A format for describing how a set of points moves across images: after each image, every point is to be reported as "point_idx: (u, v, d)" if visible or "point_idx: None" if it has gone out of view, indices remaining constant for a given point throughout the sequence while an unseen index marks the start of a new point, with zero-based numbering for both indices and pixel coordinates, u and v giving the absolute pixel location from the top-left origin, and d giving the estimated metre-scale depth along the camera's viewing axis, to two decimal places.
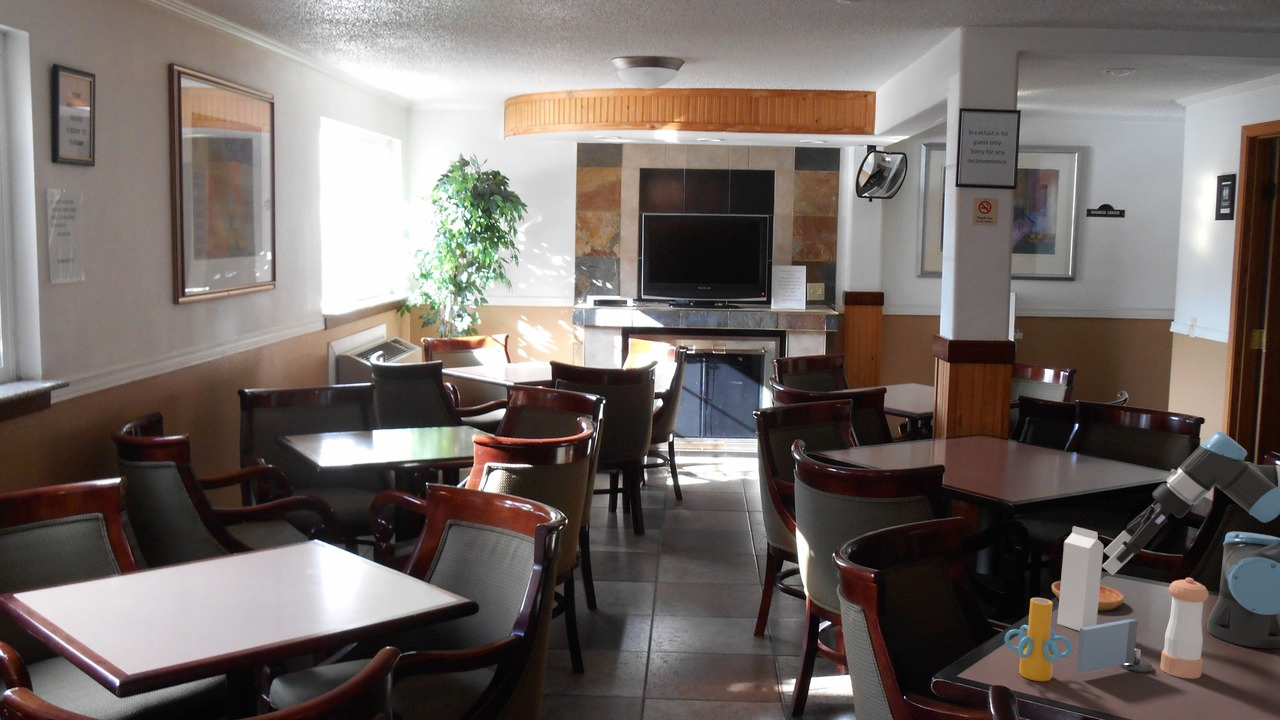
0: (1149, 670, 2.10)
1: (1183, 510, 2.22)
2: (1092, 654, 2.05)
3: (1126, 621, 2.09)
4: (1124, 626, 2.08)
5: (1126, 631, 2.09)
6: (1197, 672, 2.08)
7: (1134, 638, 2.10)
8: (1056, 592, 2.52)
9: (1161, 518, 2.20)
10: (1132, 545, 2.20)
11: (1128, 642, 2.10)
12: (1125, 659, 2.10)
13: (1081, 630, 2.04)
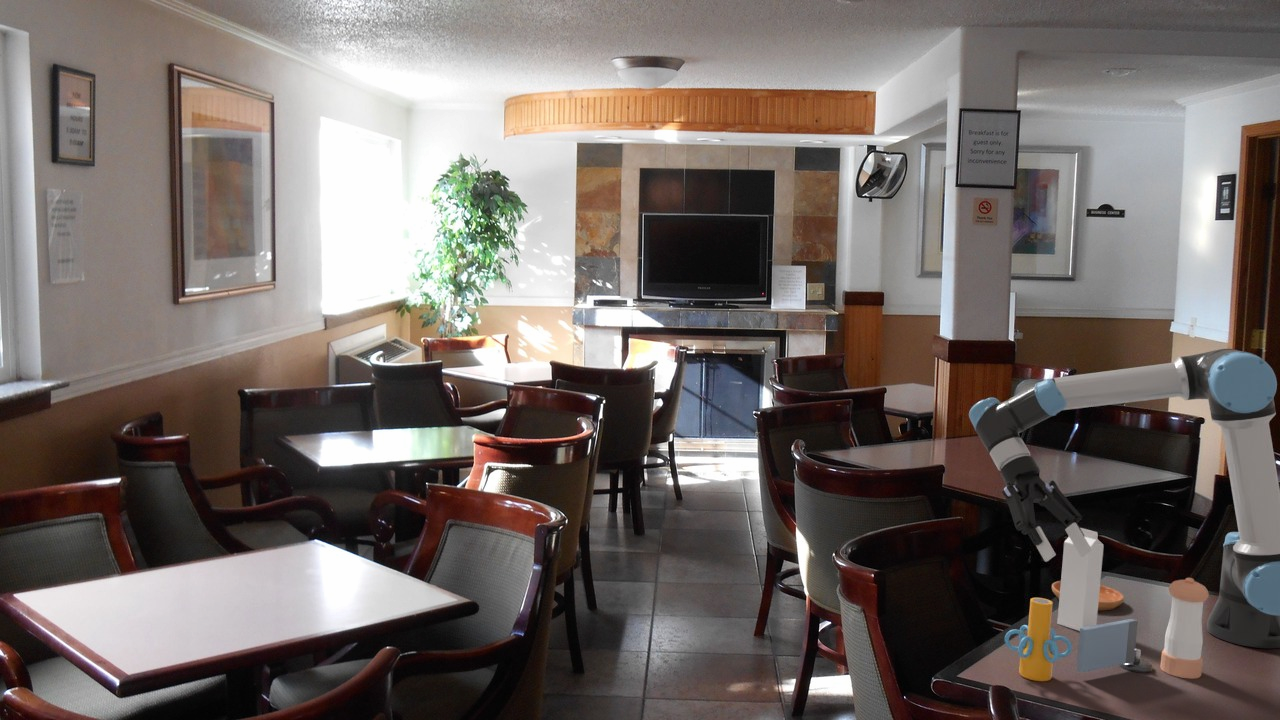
0: (1149, 670, 2.10)
1: (1017, 464, 2.23)
2: (1092, 654, 2.05)
3: (1126, 621, 2.09)
4: (1124, 626, 2.08)
5: (1126, 631, 2.09)
6: (1197, 672, 2.08)
7: (1134, 638, 2.10)
8: (1056, 592, 2.52)
9: (1006, 490, 2.20)
10: (1017, 525, 2.15)
11: (1128, 642, 2.10)
12: (1125, 659, 2.10)
13: (1081, 630, 2.04)
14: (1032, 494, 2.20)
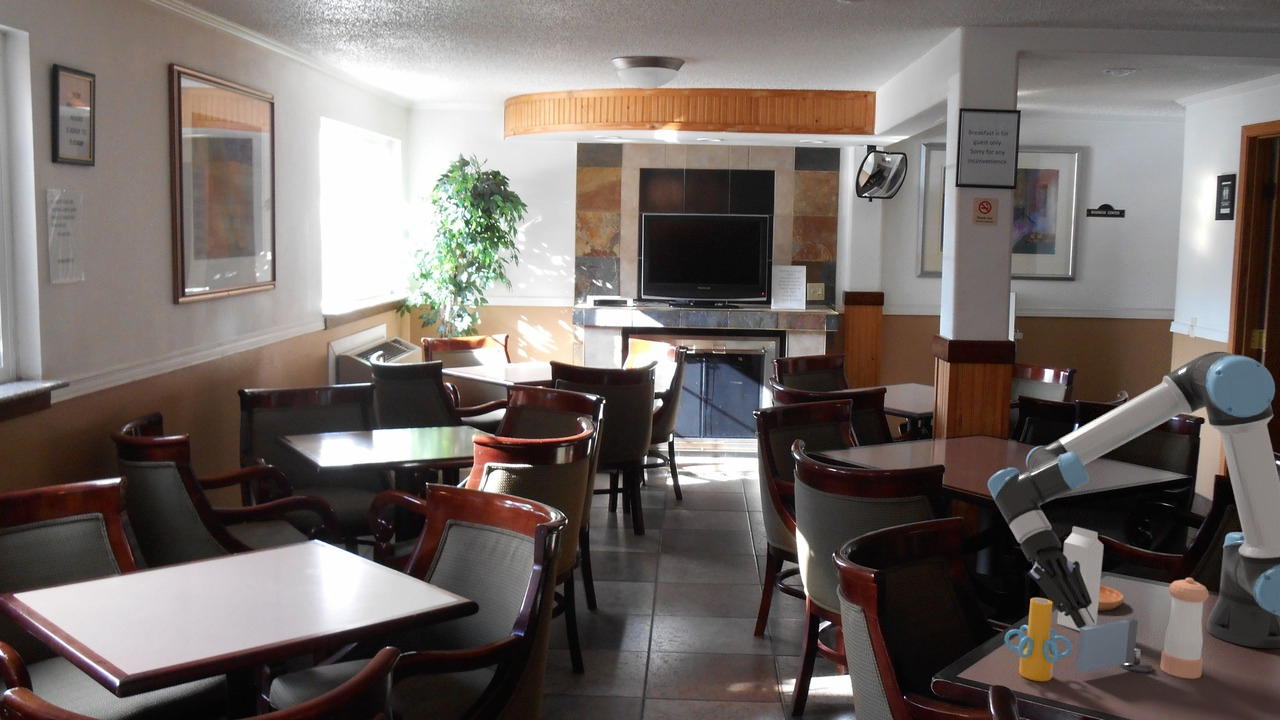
0: (1149, 670, 2.10)
1: (1038, 539, 2.18)
2: (1092, 654, 2.05)
3: (1126, 621, 2.09)
4: (1124, 626, 2.08)
5: (1126, 631, 2.09)
6: (1197, 672, 2.08)
7: (1134, 638, 2.10)
8: None
9: (1033, 573, 2.14)
10: (1059, 607, 2.12)
11: (1128, 642, 2.10)
12: (1125, 659, 2.10)
13: (1081, 630, 2.04)
14: (1058, 571, 2.15)
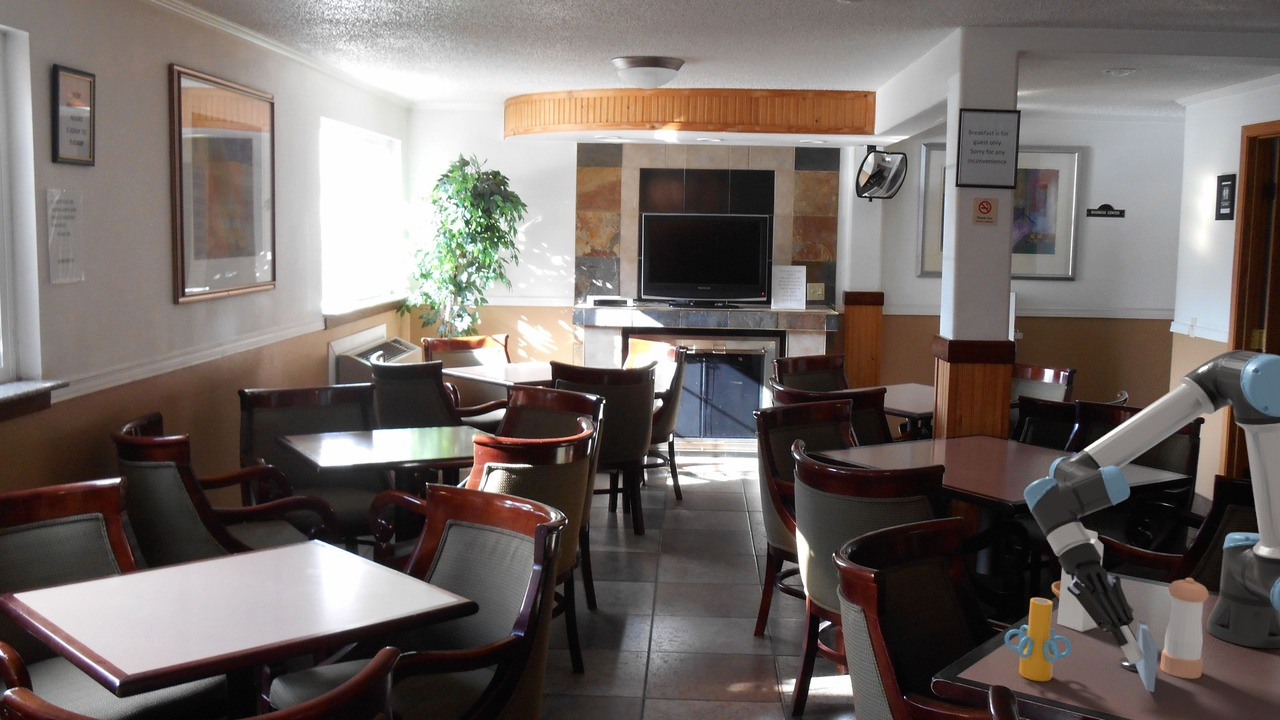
0: None
1: (1078, 553, 2.09)
2: None
3: (1144, 625, 2.07)
4: None
5: None
6: (1197, 672, 2.08)
7: None
8: (1056, 592, 2.52)
9: (1073, 588, 2.05)
10: (1100, 624, 2.03)
11: None
12: None
13: (1153, 648, 1.96)
14: (1099, 586, 2.06)
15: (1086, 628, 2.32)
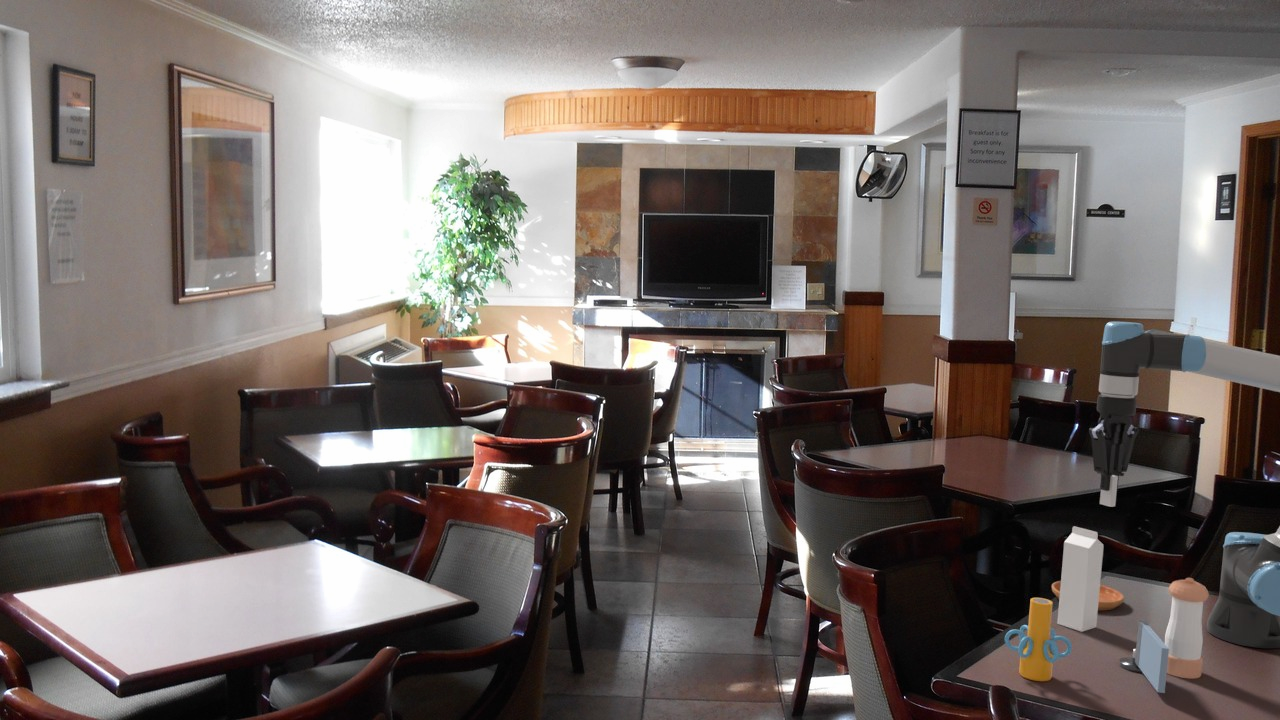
0: None
1: (1118, 406, 2.19)
2: None
3: (1146, 625, 2.07)
4: None
5: None
6: (1197, 672, 2.08)
7: None
8: (1056, 592, 2.52)
9: (1094, 433, 2.20)
10: (1096, 467, 2.23)
11: None
12: None
13: (1164, 650, 1.95)
14: (1117, 438, 2.21)
15: (1086, 628, 2.32)
